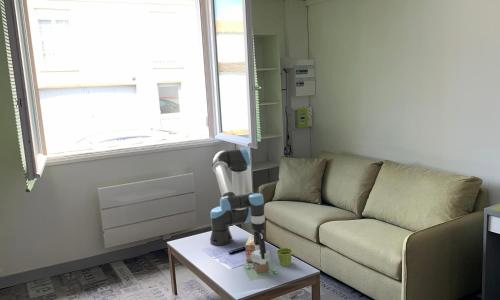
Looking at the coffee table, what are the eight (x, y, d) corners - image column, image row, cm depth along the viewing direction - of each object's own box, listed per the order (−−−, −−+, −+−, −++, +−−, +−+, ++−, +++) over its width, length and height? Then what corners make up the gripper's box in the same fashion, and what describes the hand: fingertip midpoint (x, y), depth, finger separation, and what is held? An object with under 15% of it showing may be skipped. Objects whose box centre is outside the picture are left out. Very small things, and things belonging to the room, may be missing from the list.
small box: (270, 260, 234) (270, 251, 233) (261, 264, 228) (260, 256, 228) (260, 256, 239) (260, 247, 238) (251, 261, 234) (250, 252, 233)
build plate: (242, 267, 243) (241, 263, 242) (271, 262, 246) (271, 258, 246) (249, 282, 223) (249, 279, 223) (282, 277, 227) (281, 273, 227)
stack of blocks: (252, 249, 267) (251, 231, 265) (262, 249, 266) (260, 231, 264) (246, 264, 246) (245, 244, 244) (257, 264, 245) (255, 244, 243)
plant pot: (283, 270, 235) (282, 256, 233) (273, 264, 242) (273, 250, 241) (296, 265, 239) (296, 251, 238) (286, 260, 247) (286, 246, 246)
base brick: (253, 268, 237) (253, 259, 236) (265, 266, 239) (265, 257, 238) (256, 273, 231) (256, 265, 230) (269, 271, 232) (268, 263, 231)
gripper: (246, 216, 240) (249, 252, 244) (256, 229, 218) (259, 269, 222) (259, 214, 242) (261, 251, 246) (270, 227, 220) (272, 267, 223)
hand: (260, 259), depth 234 cm, fingers closed on small box, 10 cm apart
